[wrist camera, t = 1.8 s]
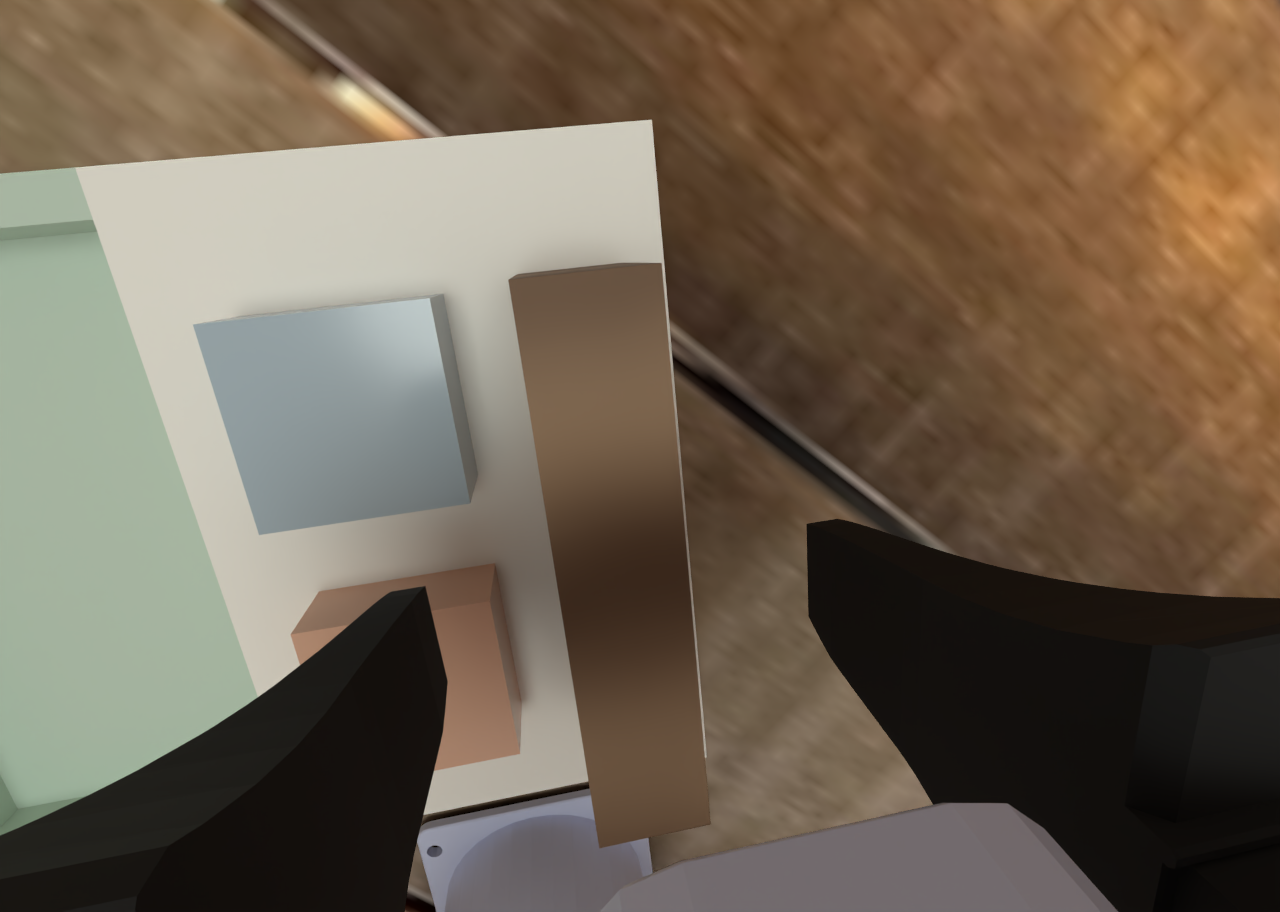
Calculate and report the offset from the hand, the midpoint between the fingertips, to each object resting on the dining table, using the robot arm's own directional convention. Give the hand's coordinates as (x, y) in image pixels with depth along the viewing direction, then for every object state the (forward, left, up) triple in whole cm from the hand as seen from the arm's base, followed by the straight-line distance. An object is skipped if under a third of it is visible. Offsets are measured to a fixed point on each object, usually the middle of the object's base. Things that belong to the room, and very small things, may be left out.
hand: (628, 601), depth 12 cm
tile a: (-4, +5, -5) cm, 8 cm away
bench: (0, +4, -8) cm, 9 cm away
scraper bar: (0, 0, -5) cm, 5 cm away
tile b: (+3, +5, -5) cm, 8 cm away
